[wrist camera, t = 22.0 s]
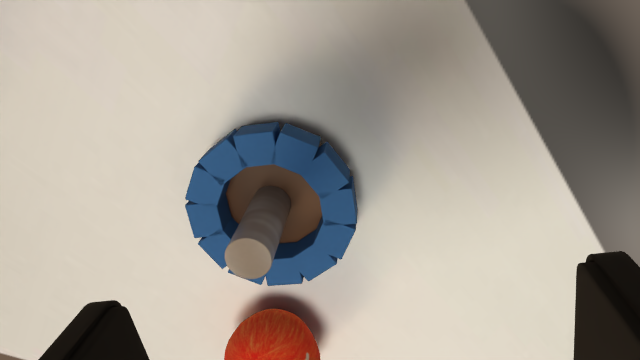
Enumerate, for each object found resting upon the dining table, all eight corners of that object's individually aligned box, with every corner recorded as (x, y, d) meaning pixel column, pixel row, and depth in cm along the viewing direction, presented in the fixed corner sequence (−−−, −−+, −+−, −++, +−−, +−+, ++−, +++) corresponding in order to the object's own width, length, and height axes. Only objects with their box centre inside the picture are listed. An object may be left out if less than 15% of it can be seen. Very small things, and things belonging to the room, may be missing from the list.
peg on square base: (320, 134, 35) (304, 184, 26) (339, 237, 38) (331, 311, 30) (208, 150, 36) (158, 203, 28) (236, 248, 40) (199, 323, 31)
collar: (344, 113, 33) (343, 122, 30) (364, 261, 37) (364, 279, 35) (179, 133, 34) (166, 143, 32) (218, 273, 39) (209, 290, 37)
